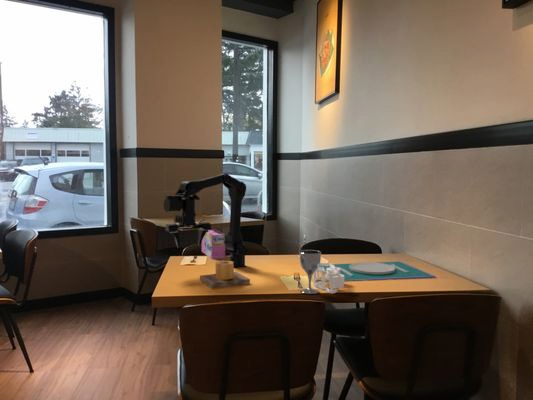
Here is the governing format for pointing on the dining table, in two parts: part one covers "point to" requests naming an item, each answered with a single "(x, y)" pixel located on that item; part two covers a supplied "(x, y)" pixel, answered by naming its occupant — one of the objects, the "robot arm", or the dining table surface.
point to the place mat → (379, 271)
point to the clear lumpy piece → (329, 278)
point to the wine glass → (310, 266)
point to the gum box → (214, 244)
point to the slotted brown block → (219, 283)
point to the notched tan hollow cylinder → (224, 270)
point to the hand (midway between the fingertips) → (188, 246)
